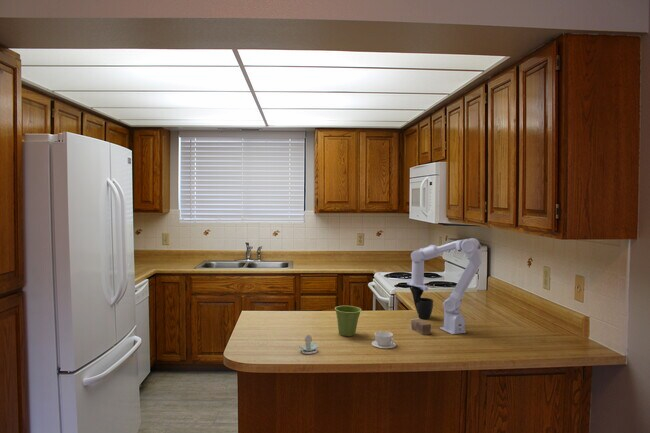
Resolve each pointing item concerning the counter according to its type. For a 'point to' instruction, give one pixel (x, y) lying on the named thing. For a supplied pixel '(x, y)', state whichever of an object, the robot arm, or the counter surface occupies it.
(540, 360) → the counter surface
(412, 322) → the walnut block
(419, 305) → the mug
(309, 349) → the pacifier
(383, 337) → the teacup
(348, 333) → the plant pot
